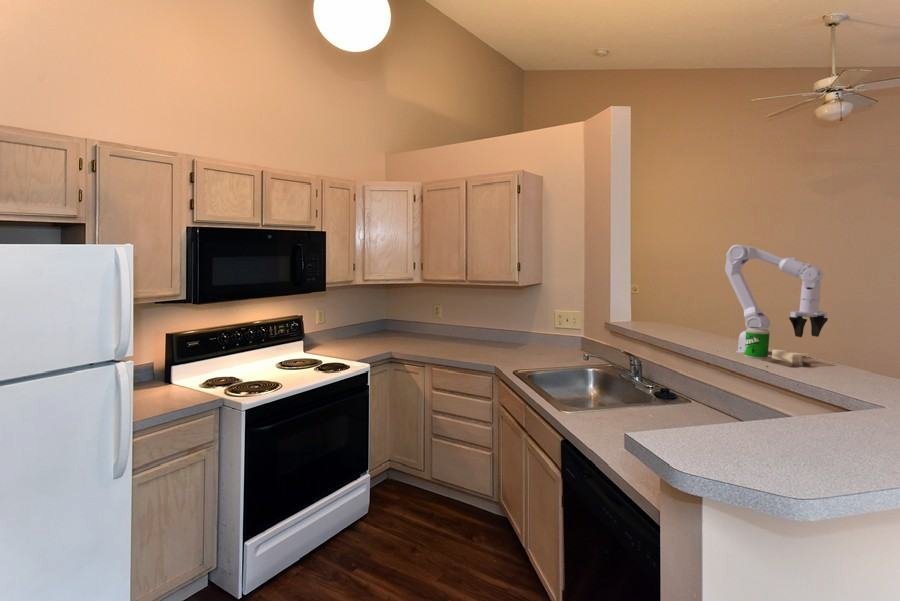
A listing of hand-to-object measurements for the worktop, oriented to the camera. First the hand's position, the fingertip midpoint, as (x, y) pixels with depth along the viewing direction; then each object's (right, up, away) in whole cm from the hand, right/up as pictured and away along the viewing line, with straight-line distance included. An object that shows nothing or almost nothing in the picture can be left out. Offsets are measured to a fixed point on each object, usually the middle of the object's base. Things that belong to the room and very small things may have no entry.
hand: (806, 336), depth 182 cm
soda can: (-17, -9, +3) cm, 20 cm away
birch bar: (-13, -9, -7) cm, 17 cm away
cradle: (-8, -10, -6) cm, 14 cm away
